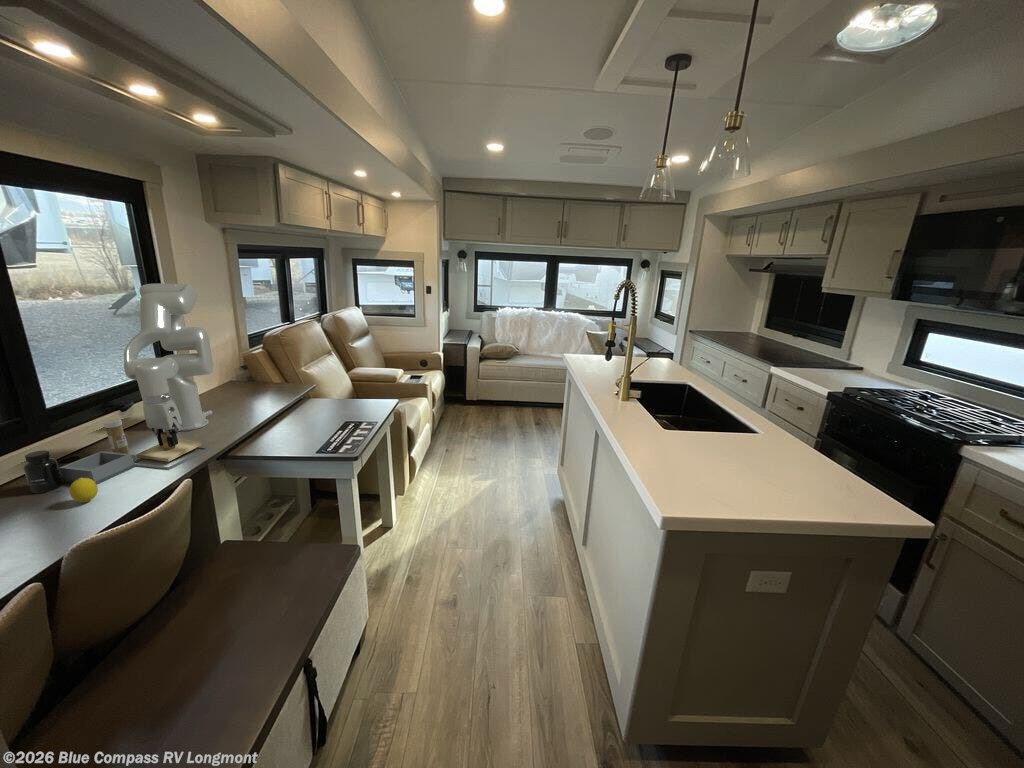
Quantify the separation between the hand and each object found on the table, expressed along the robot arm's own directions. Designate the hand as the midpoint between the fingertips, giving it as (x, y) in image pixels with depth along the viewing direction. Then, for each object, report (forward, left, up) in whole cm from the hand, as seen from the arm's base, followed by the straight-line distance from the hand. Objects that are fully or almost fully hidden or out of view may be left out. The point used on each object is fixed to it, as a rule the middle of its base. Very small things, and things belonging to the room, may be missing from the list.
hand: (169, 444), depth 146 cm
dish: (+16, -10, -4) cm, 19 cm away
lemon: (+30, +4, -5) cm, 30 cm away
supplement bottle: (+26, -16, -5) cm, 31 cm away
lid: (0, 0, -3) cm, 3 cm away
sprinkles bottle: (+3, -18, -5) cm, 19 cm away
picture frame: (+1, +1, -4) cm, 5 cm away
